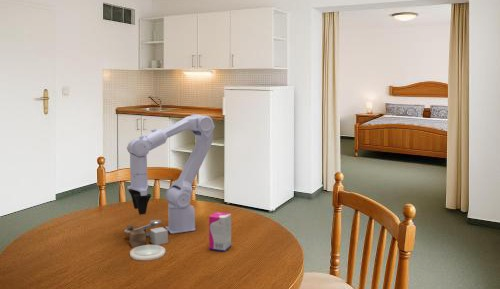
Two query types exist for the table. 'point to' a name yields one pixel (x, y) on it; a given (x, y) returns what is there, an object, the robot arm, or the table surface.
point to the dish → (147, 252)
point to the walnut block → (137, 238)
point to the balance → (143, 227)
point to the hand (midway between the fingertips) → (139, 211)
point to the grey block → (158, 236)
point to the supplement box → (220, 231)
